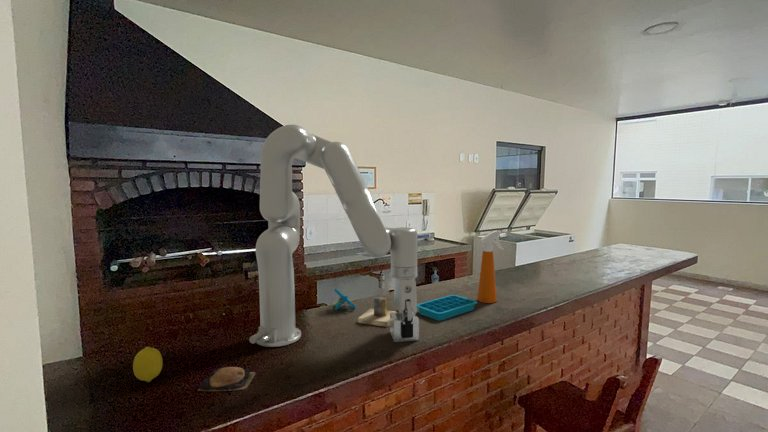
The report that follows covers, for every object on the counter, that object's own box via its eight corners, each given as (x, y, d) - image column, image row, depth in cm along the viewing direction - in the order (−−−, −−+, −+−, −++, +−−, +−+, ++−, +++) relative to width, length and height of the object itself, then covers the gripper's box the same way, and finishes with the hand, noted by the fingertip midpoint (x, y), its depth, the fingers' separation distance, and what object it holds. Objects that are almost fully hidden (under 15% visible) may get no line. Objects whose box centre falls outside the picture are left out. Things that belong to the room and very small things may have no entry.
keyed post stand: (357, 322, 118) (357, 301, 118) (370, 312, 127) (370, 292, 127) (387, 326, 114) (387, 304, 114) (398, 316, 124) (398, 295, 123)
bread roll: (257, 374, 87) (257, 359, 87) (244, 394, 79) (244, 377, 79) (211, 374, 87) (210, 359, 87) (193, 394, 79) (193, 377, 78)
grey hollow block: (394, 342, 103) (394, 320, 103) (390, 332, 110) (390, 312, 110) (418, 340, 104) (419, 319, 104) (413, 330, 111) (413, 311, 111)
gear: (359, 308, 127) (338, 288, 126) (348, 321, 126) (326, 302, 125) (354, 302, 138) (334, 284, 137) (343, 315, 137) (323, 297, 135)
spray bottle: (508, 301, 140) (510, 231, 138) (485, 304, 136) (486, 232, 134) (496, 295, 146) (497, 229, 144) (473, 299, 142) (474, 230, 140)
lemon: (168, 375, 86) (166, 341, 85) (154, 388, 80) (152, 352, 79) (143, 375, 85) (141, 341, 85) (128, 388, 80) (125, 352, 79)
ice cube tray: (478, 310, 131) (479, 301, 130) (439, 323, 118) (439, 314, 118) (453, 302, 140) (453, 294, 140) (414, 313, 127) (414, 305, 127)
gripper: (424, 278, 98) (424, 343, 99) (410, 264, 115) (410, 320, 116) (396, 279, 97) (396, 345, 98) (386, 265, 114) (386, 321, 115)
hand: (404, 331), depth 107 cm, fingers open, 7 cm apart
